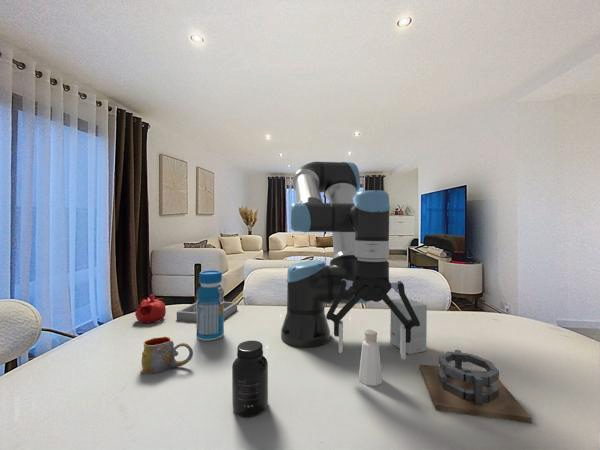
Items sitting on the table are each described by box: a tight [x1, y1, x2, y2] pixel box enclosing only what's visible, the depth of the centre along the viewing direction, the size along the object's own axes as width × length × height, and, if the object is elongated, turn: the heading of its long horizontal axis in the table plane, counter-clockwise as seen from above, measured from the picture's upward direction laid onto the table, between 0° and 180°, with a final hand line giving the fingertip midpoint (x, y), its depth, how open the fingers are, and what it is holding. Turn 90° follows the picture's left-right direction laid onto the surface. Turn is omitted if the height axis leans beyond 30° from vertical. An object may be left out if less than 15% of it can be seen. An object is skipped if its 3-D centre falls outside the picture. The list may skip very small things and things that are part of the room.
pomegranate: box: [135, 294, 167, 324], centre depth 103 cm, size 10×10×9 cm
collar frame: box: [438, 349, 500, 406], centre depth 61 cm, size 10×13×5 cm
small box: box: [389, 298, 428, 355], centre depth 82 cm, size 8×6×13 cm
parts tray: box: [176, 301, 238, 323], centre depth 109 cm, size 16×16×3 cm
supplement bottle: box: [231, 340, 269, 418], centre depth 55 cm, size 7×7×12 cm
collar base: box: [419, 363, 533, 424], centre depth 61 cm, size 16×16×1 cm
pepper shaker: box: [358, 329, 383, 387], centre depth 65 cm, size 5×5×11 cm
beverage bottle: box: [195, 269, 226, 342], centre depth 89 cm, size 8×8×20 cm
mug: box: [140, 336, 194, 374], centre depth 70 cm, size 12×7×7 cm, turn 88°
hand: (371, 353), depth 65 cm, fingers open, 13 cm apart
